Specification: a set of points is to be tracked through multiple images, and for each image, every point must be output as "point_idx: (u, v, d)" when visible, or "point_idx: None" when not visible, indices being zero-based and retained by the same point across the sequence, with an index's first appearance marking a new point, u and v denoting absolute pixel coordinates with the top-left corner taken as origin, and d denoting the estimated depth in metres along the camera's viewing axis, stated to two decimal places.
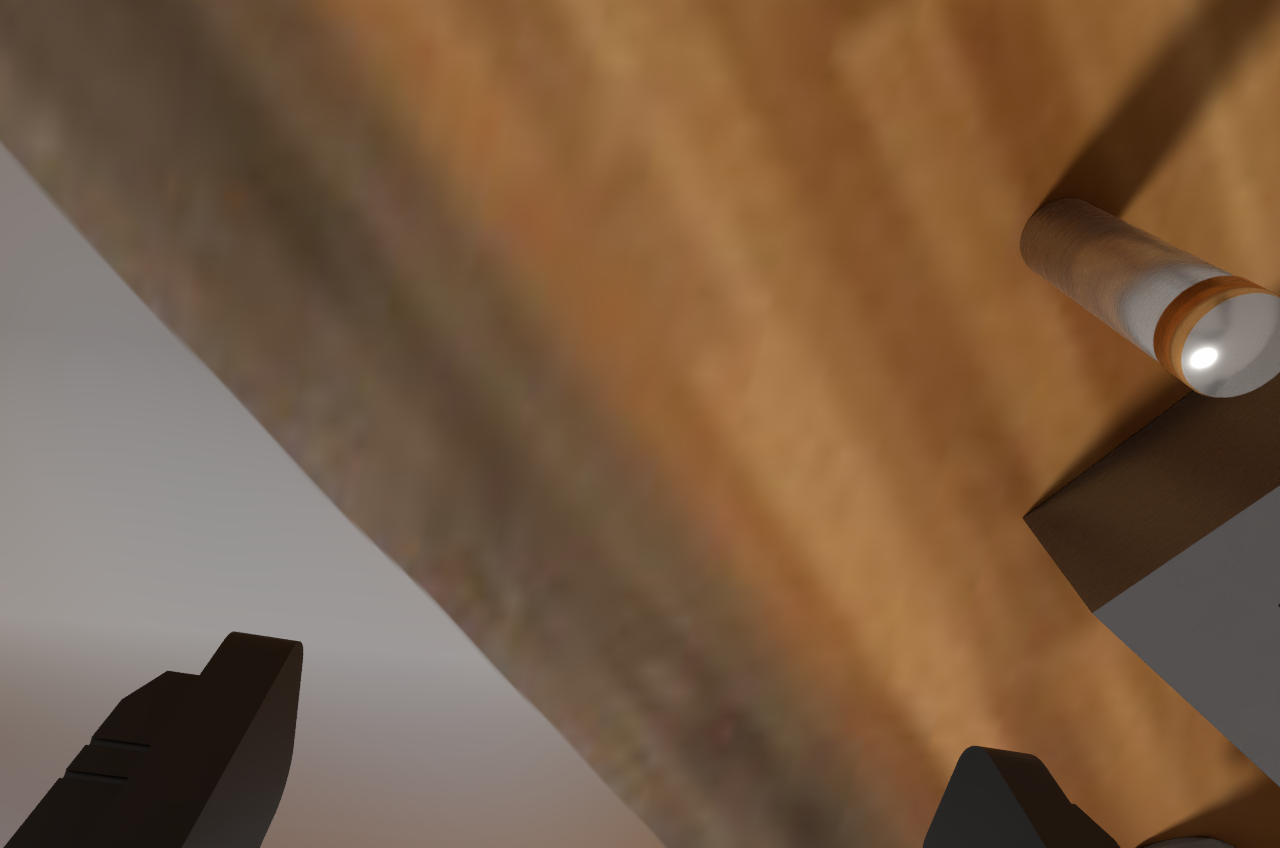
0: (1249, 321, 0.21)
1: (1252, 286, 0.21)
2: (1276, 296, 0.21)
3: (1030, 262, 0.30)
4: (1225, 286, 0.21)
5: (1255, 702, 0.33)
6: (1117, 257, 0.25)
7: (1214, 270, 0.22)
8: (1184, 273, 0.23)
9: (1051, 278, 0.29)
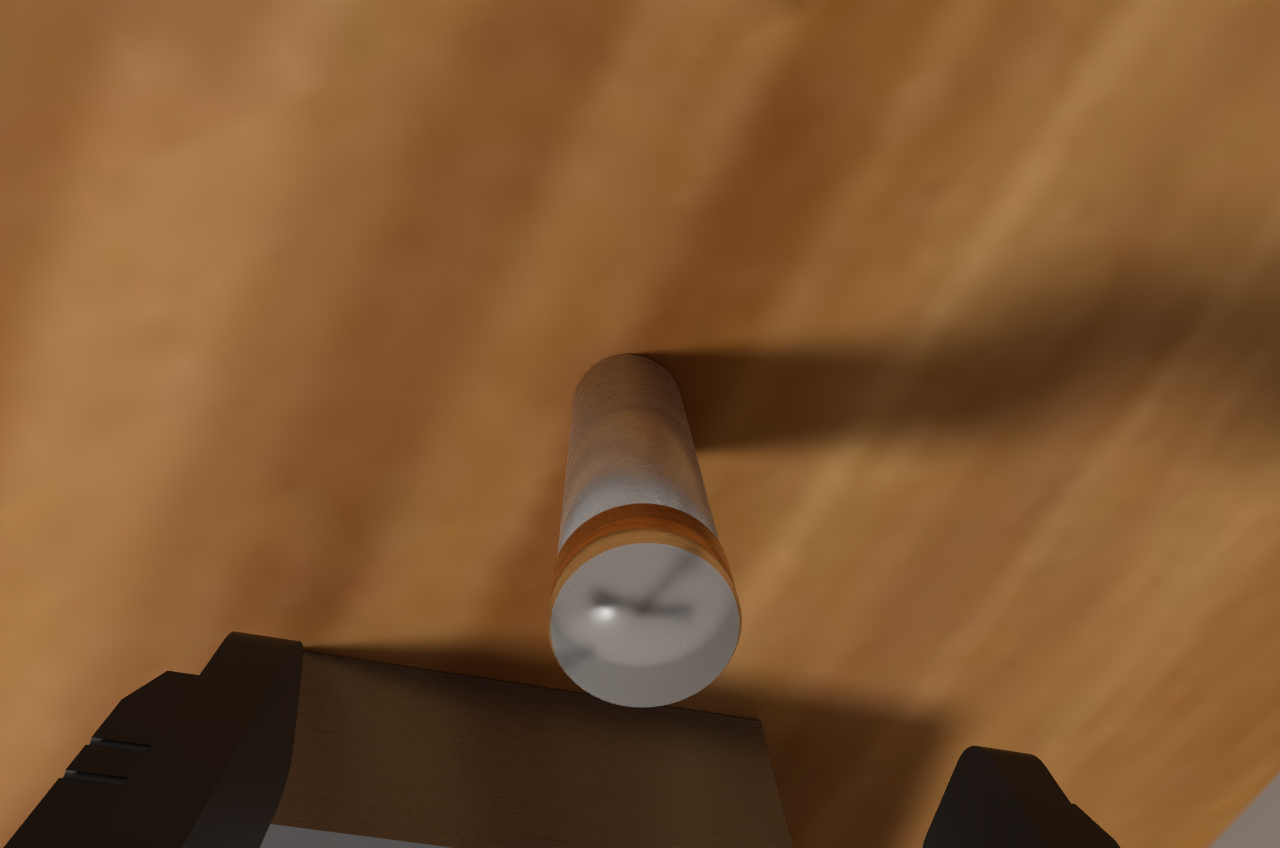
0: (685, 609, 0.13)
1: (729, 574, 0.13)
2: (738, 610, 0.13)
3: (578, 389, 0.21)
4: (708, 544, 0.13)
5: None
6: (649, 433, 0.16)
7: (713, 529, 0.14)
8: (686, 498, 0.14)
9: (576, 413, 0.20)
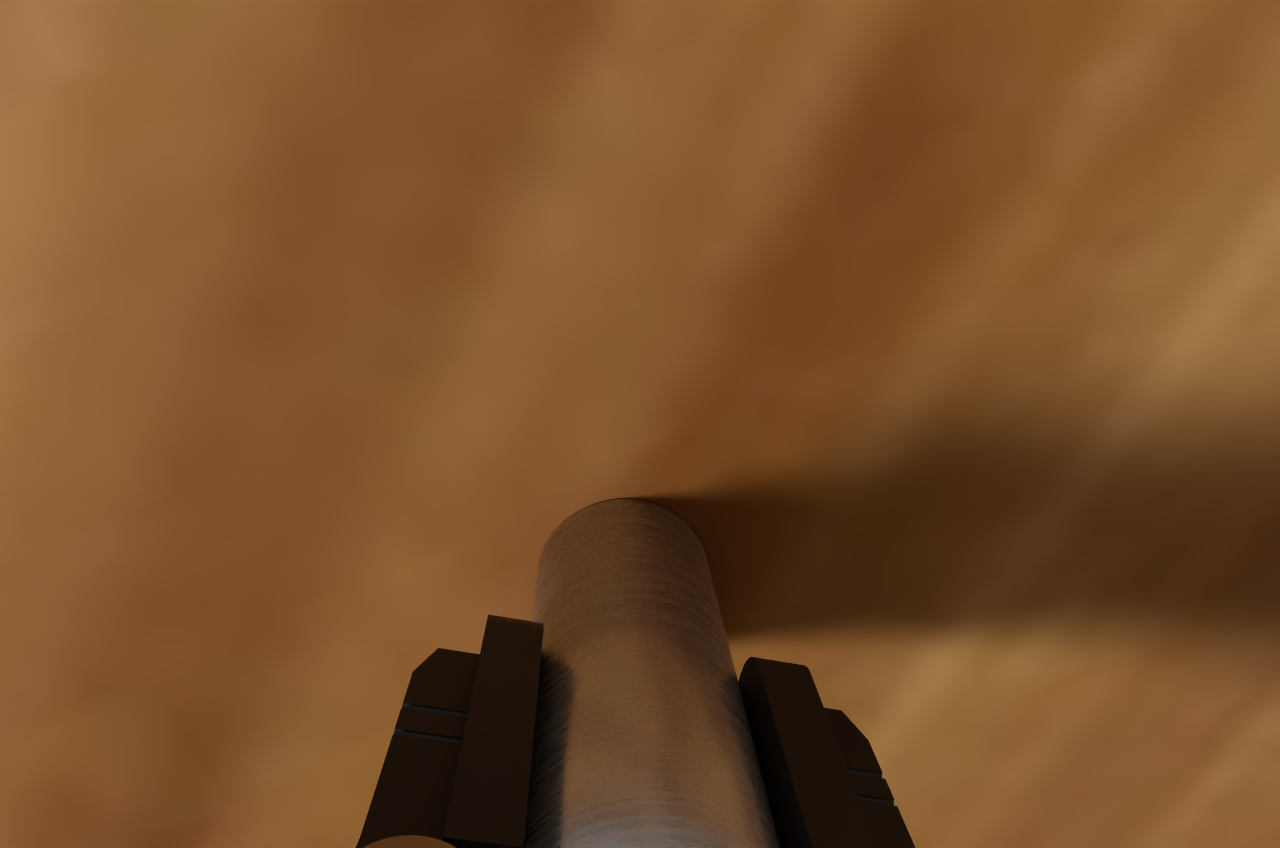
0: None
1: None
2: None
3: (545, 562, 0.13)
4: None
5: None
6: (670, 737, 0.08)
7: None
8: None
9: None
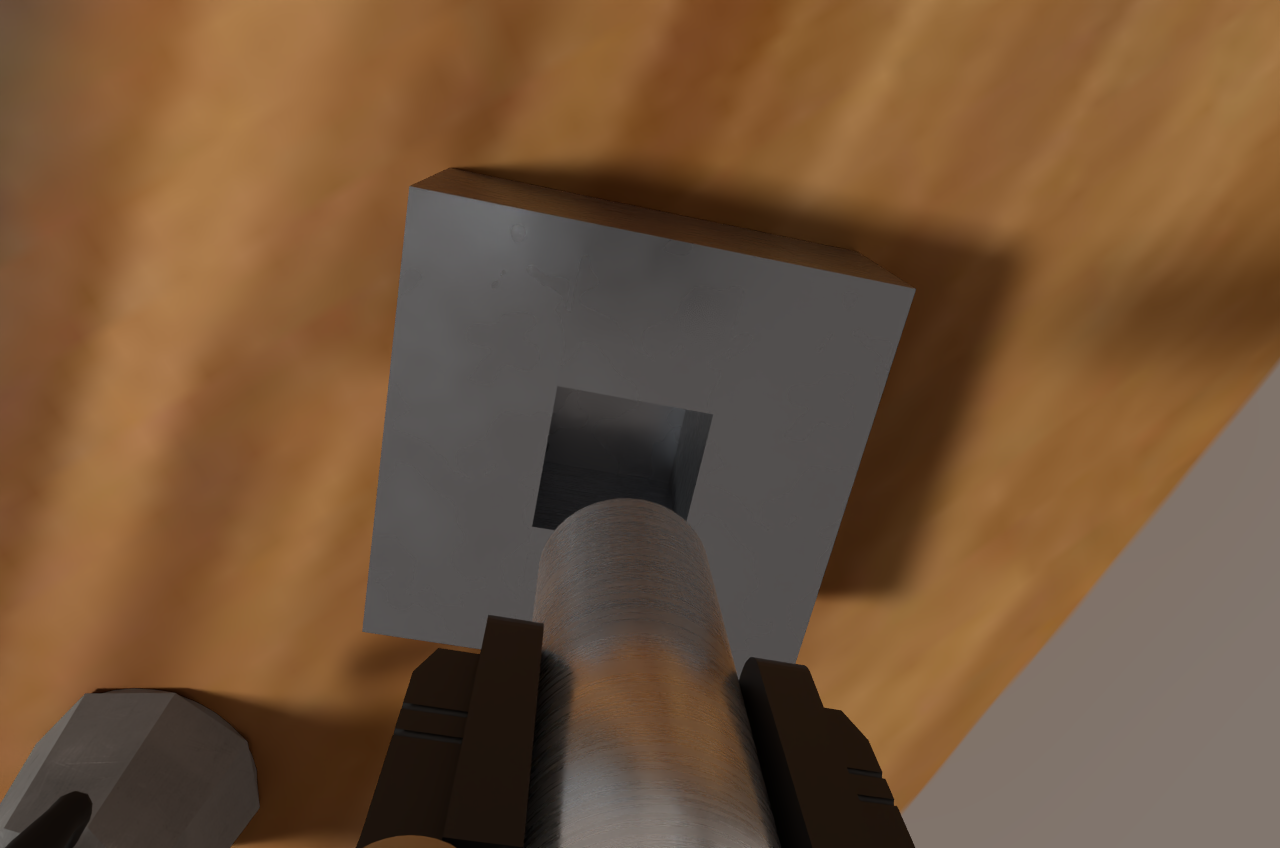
0: None
1: None
2: None
3: (545, 561, 0.13)
4: None
5: (437, 490, 0.25)
6: (671, 736, 0.08)
7: None
8: None
9: None
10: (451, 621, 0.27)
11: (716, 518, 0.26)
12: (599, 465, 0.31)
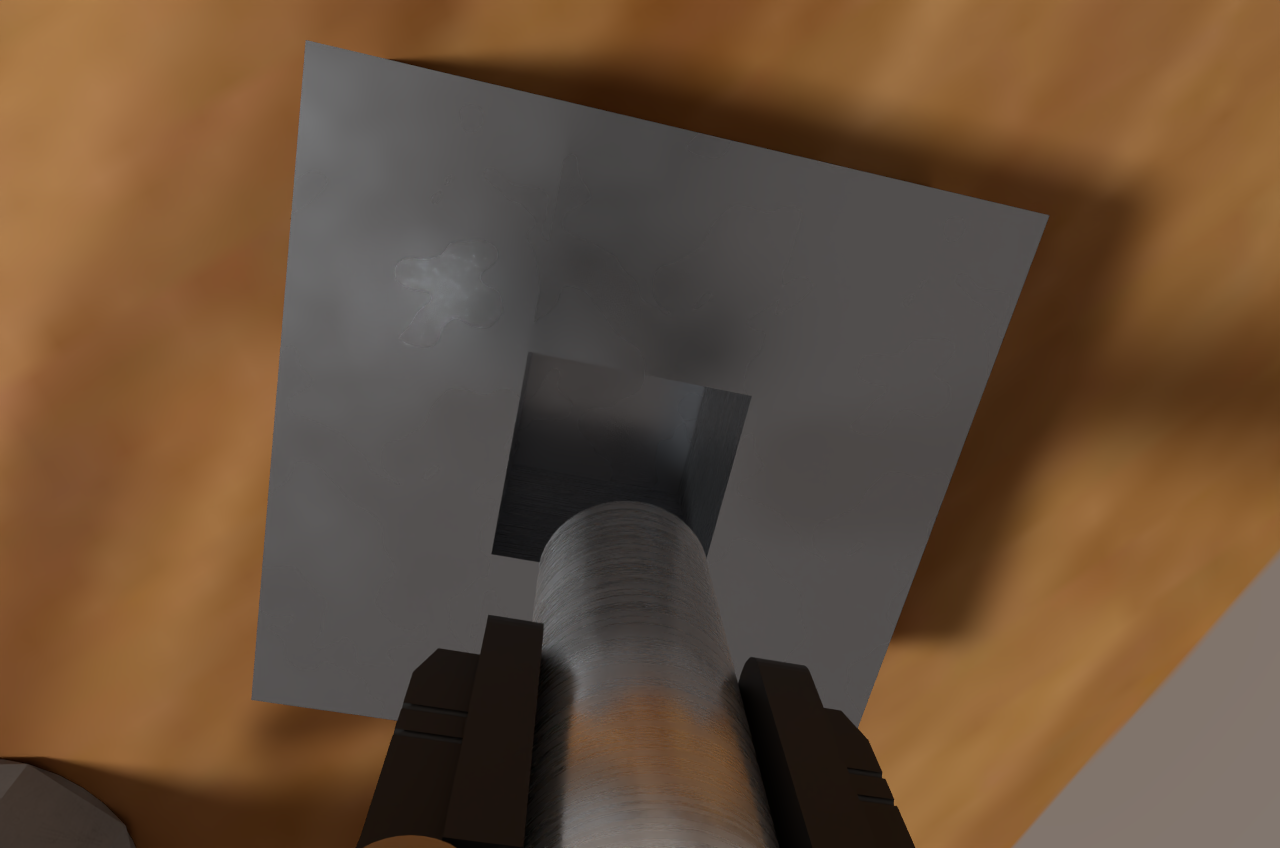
0: None
1: None
2: None
3: (545, 564, 0.13)
4: None
5: (355, 501, 0.18)
6: (670, 740, 0.08)
7: None
8: None
9: None
10: (377, 685, 0.19)
11: (751, 544, 0.19)
12: (586, 470, 0.23)
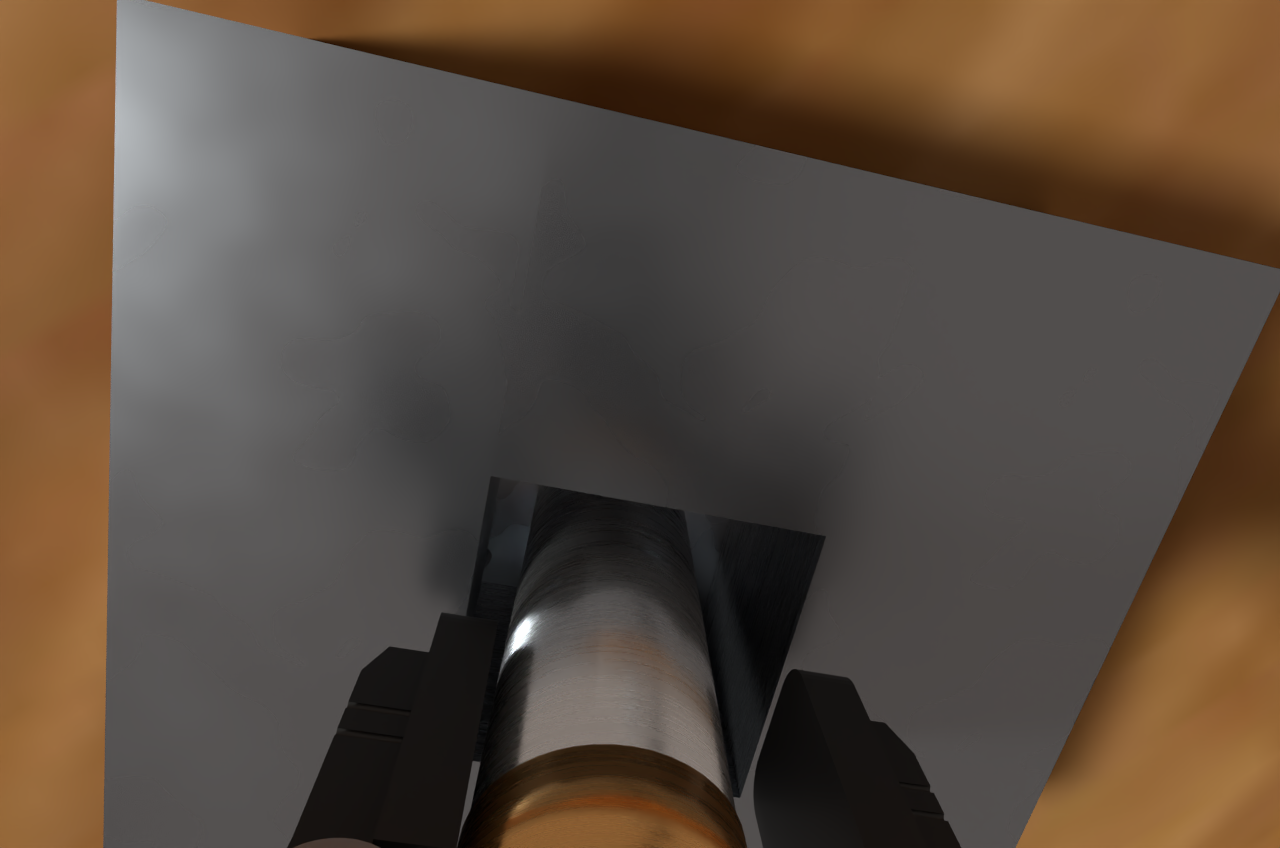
0: None
1: None
2: None
3: None
4: (710, 827, 0.08)
5: (236, 688, 0.12)
6: (626, 577, 0.11)
7: (720, 765, 0.09)
8: (676, 716, 0.09)
9: (534, 521, 0.14)
10: None
11: None
12: None
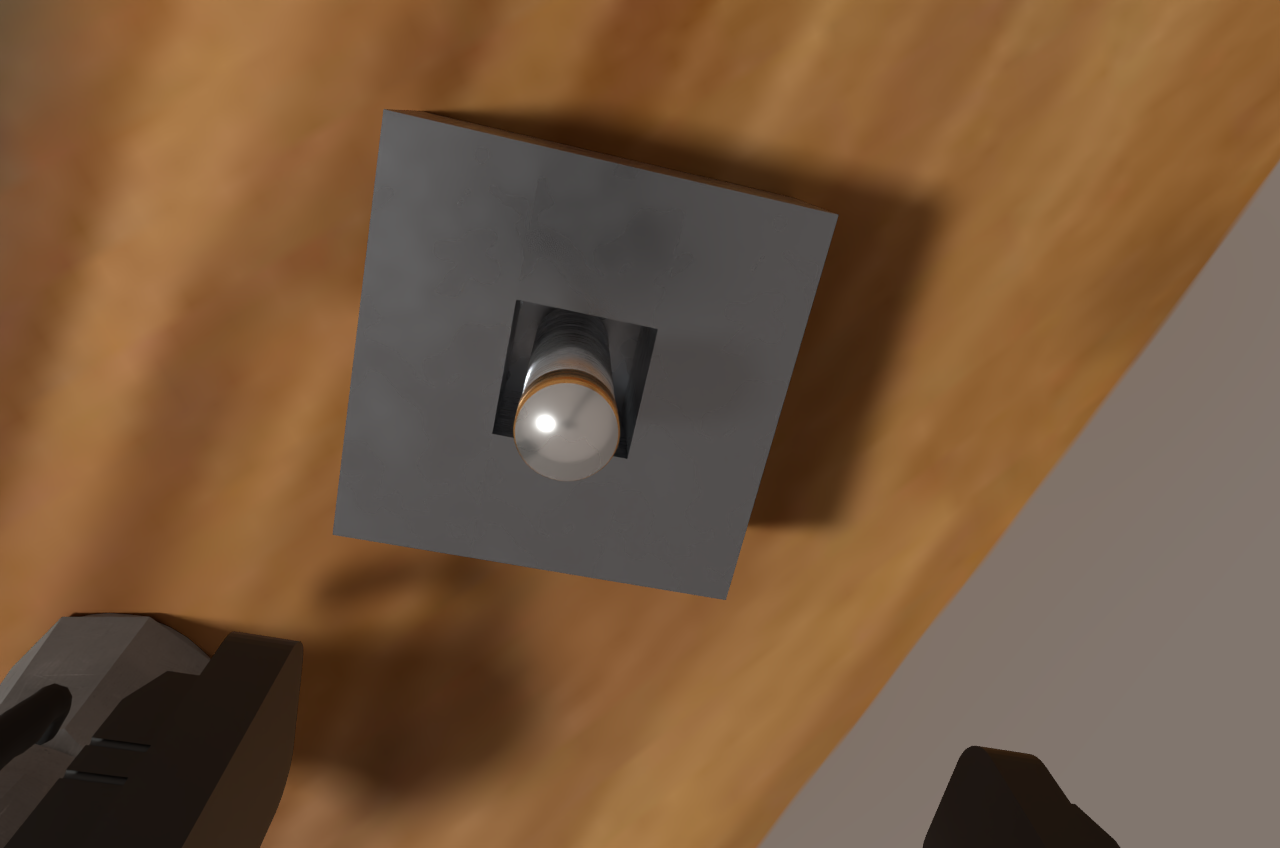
0: (588, 422, 0.23)
1: (613, 404, 0.23)
2: (617, 422, 0.23)
3: (538, 329, 0.32)
4: (602, 388, 0.23)
5: (405, 397, 0.28)
6: (577, 343, 0.27)
7: (609, 388, 0.25)
8: (594, 370, 0.25)
9: (535, 341, 0.30)
10: (416, 525, 0.29)
11: (661, 428, 0.29)
12: None
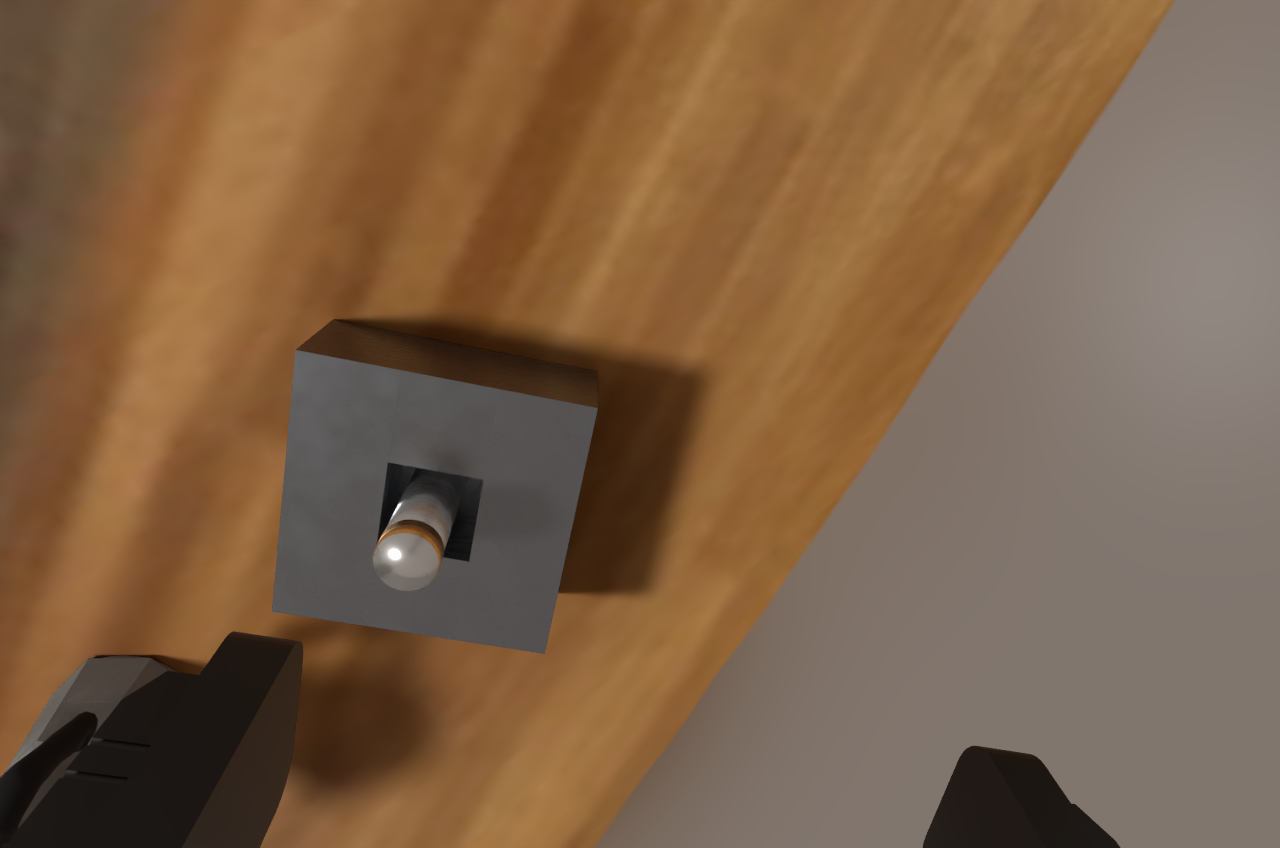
0: (419, 555, 0.37)
1: (436, 543, 0.37)
2: (437, 556, 0.37)
3: None
4: (429, 533, 0.37)
5: (316, 523, 0.42)
6: (428, 490, 0.41)
7: (440, 528, 0.39)
8: (430, 517, 0.39)
9: None
10: (328, 605, 0.43)
11: (490, 541, 0.43)
12: None
